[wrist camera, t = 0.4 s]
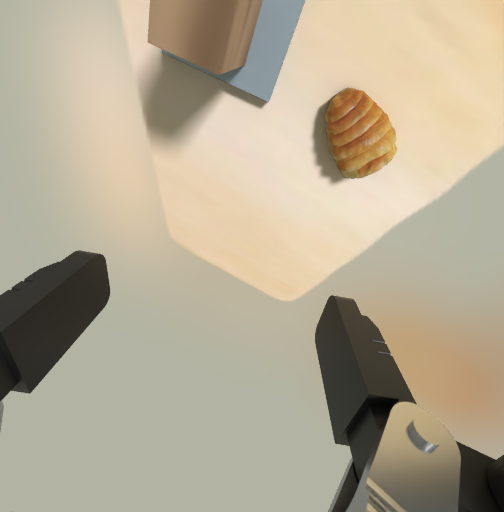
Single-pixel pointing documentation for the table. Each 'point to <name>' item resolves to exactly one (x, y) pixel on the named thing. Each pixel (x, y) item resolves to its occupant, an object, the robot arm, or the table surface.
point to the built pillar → (205, 30)
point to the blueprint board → (263, 49)
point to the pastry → (359, 134)
